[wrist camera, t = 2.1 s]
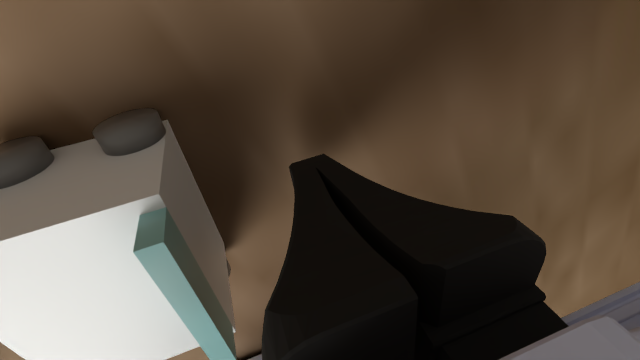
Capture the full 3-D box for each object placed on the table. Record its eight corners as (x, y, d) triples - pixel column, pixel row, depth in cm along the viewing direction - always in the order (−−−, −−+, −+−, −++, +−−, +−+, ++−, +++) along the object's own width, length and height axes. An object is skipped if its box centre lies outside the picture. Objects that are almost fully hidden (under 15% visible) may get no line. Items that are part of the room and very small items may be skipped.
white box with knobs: (228, 251, 15) (245, 375, 10) (111, 291, 14) (76, 446, 9) (159, 102, 10) (141, 205, 6) (-16, 145, 10) (-188, 303, 5)
